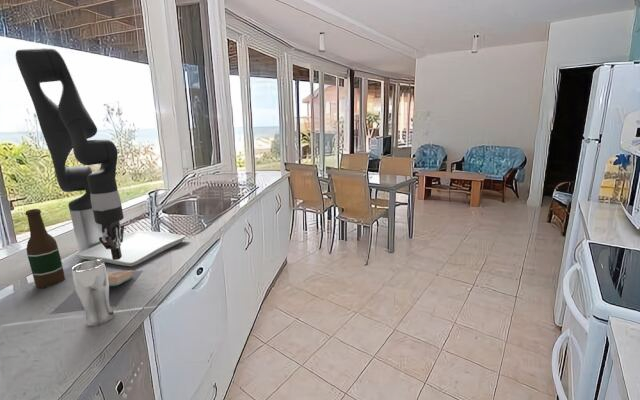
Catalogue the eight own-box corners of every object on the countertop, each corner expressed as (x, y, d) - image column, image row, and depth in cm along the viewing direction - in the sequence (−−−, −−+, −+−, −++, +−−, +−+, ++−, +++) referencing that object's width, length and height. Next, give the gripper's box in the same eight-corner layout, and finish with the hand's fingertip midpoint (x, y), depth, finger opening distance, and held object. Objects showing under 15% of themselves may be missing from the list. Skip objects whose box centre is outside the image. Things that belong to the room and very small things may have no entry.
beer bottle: (29, 290, 99) (8, 214, 94) (43, 279, 107) (24, 208, 101) (59, 286, 101) (41, 212, 96) (70, 275, 109) (54, 205, 103)
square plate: (75, 263, 119) (73, 253, 118) (138, 237, 144) (136, 229, 143) (132, 272, 110) (130, 261, 109) (188, 242, 135) (187, 234, 134)
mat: (90, 277, 107) (90, 275, 107) (143, 271, 110) (143, 270, 109) (50, 315, 86) (49, 313, 86) (116, 307, 89) (116, 305, 88)
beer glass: (110, 308, 88) (99, 257, 85) (120, 317, 84) (109, 263, 80) (79, 321, 83) (66, 266, 79) (88, 331, 79) (75, 274, 75)
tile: (101, 273, 103) (82, 280, 92) (132, 270, 104) (117, 276, 94) (102, 281, 103) (83, 289, 92) (133, 277, 104) (117, 285, 94)
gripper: (103, 202, 106) (113, 252, 110) (82, 212, 93) (94, 269, 97) (128, 200, 107) (137, 249, 111) (111, 210, 94) (122, 266, 98)
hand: (117, 258), depth 104 cm, fingers closed
